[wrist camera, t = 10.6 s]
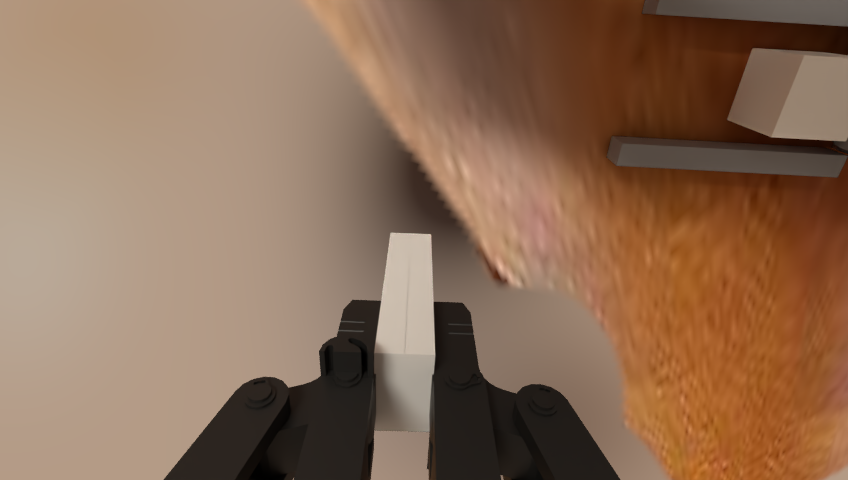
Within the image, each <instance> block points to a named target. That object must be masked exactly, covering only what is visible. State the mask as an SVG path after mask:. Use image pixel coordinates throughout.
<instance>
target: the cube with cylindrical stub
mask: <svg viewBox="0 0 848 480" xmlns="http://www.w3.org/2000/svg"><path fill="white" fill-rule="evenodd" d="M727 120H728V121H731V122H733V123H736V124H738V125H741V126H744V127H746V128H749V129H751V130H754V131H756V132H759V133H761V134H764V135H766V136H769V137H774V138H792V139H810V140H829V141H846V140H847V138H848V55H842V54H834V53H826V52H814V51H797V50H780V49H764V48H752V51H751V54H750V56H749V59H748V62H747V65H746V68H745V70H744V73H743V76H742V79H741V82H740V84H739V87H738V90H737V93H736V96H735V99H734V101H733V104H732V107H731V110H730V113H729V115H728V118H727Z"/></svg>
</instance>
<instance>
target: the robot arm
mask: <svg viewBox="0 0 848 480" xmlns="http://www.w3.org/2000/svg"><path fill="white" fill-rule="evenodd" d="M432 278H433V277H432V250H431V234H409V233H391V234H390V241H389V249H388V256H387V263H386V270H385V278H384V286H383V292H382V299H381V301H367V300H352V301H351V302H350V303H349V304H348V305H347V306H346V307H345V309H344V310H343V314H342V318H341V322H340V326H339V331H338V334H337V337H334V338H332V339H330V340H328V341H327V342H326V343H325V344H323V345H322V347H321V349H320V351H319V355H320V369H321V376H320V377H319V378H318V379H316V380H314V381H312V382H310V383H306V384H303V385H299V386H294V387H290V388H288V387H287V385H286V384H285V383H284V382H283V381H282V380H279V379H277V378H273V377H262V378H256V379H253V380H251V381H249V382H247V383H244V384H243V385H242V386H241V387H240V388H239V389H237V390H236V391H235V392H234V394H233V395H232V396H231V397H230V398H229V400H228V401H227V402H226V404H225V405H224V406H223V407H222V408H221V410H220V411H219V412H218V413H217V415H216V416H215V417H214V418H213V420H212V421H211V422H210V423H209V424H208V426H207V427H206V428H205V429H204V431H203V432H202V433H201V434H200V435H199V437H198V438H197V439H196V441H195V442H194V443H193V444H192V445H191V447H190V448H189V449H188V450H187V452H186V453H185V454H184V455H183V456H182V458H181V459H180V460H179V461H178V463H177V464H176V465H175V466H174V468H173V469H172V470H171V471H170V472H169V474H168V475H167V476H166V478H165V479H164V480H293V478H294V480H370V479H371V469H372V461H373V451H374V428H375V430H377V431H411V432H430V437H429V450H428V464H427V469H429V480H501V476H500V475H503V479H504V480H620V478H619V477H618V475H617V474H616V472H615V471H614V469H613V468H612V467H611V465H610V463H609V462H608V460H607V459H606V457H605V456H604V454H603V453H602V451H601V450H600V448H599V447H598V445H597V444H596V442H595V441H594V440H593V438H592V436H591V435H590V433H589V432H588V430H587V429H586V427H585V426H584V424H583V423H582V421H581V420H580V418H579V417H578V415H577V414H576V412H575V411H574V409H573V408H572V406H571V405H570V404H569V402H568V400H567V399H566V398H565V397H564V396H563V395H562V394H561V393H560V392H558V391H557V390H555V389H553V388H551V387H548V386H545V385H541V384H537V385H536V384H531V385H528V386H525V387H522V388H521V390H520V391H518V393H517V394H516V393H512V392H509V391H505V390H502V389H500V388H497V387H495V386H494V385H492V384H490V383H489V382H488V381H487V380H486V379H484V377H483V375H482V373H481V372H480V370H479V366H478V359H477V353H476V346H475V340H474V335H473V327H472V321H471V314H470V312H469V310H468V309H467V308H466V307H465V305H464V304H463V303H455V302H454V303H453V302H433V279H432Z"/></svg>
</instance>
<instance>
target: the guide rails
mask: <svg viewBox="0 0 848 480" xmlns="http://www.w3.org/2000/svg"><path fill="white" fill-rule="evenodd" d="M642 14H656V15H672V16H688V17H704V18H720V19H736V20H752V21H768V22H784V23H800V24H816V25H832V26H848V0H645V3H644V7H643V11H642ZM847 157H848V156H847V155H845V154H842V153H839V152H837V151H834V150H831V149H828V148H823V147H805V146H787V145H769V144H750V143H732V142H714V141H696V140H677V139H659V138H641V137H623V136H612V137H611V141H610V145H609V149H608V153H607V158H608V159H609V160H610V161H612V162H613V163H614V164H615V165H616V166H630V167H649V168H668V169H687V170H706V171H724V172H743V173H762V174H781V175H800V176H819V177H837V178H838V176H839V174H840V172H841V170H842V168H843V166H844V163H845V161H846V159H847Z"/></svg>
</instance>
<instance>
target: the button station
mask: <svg viewBox="0 0 848 480" xmlns="http://www.w3.org/2000/svg"><path fill="white" fill-rule="evenodd" d="M832 142H833V146H832V148H833V149H836V150H838V151H841V152H844V153H847V154H848V138H847V140H846V141H832Z"/></svg>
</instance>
